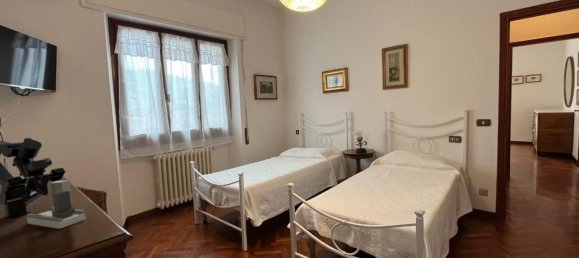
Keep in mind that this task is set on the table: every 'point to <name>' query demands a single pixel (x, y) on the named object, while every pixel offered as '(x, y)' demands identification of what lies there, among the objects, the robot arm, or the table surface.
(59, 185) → the skincare box
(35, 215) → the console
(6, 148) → the robot arm
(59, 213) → the slider
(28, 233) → the table surface
